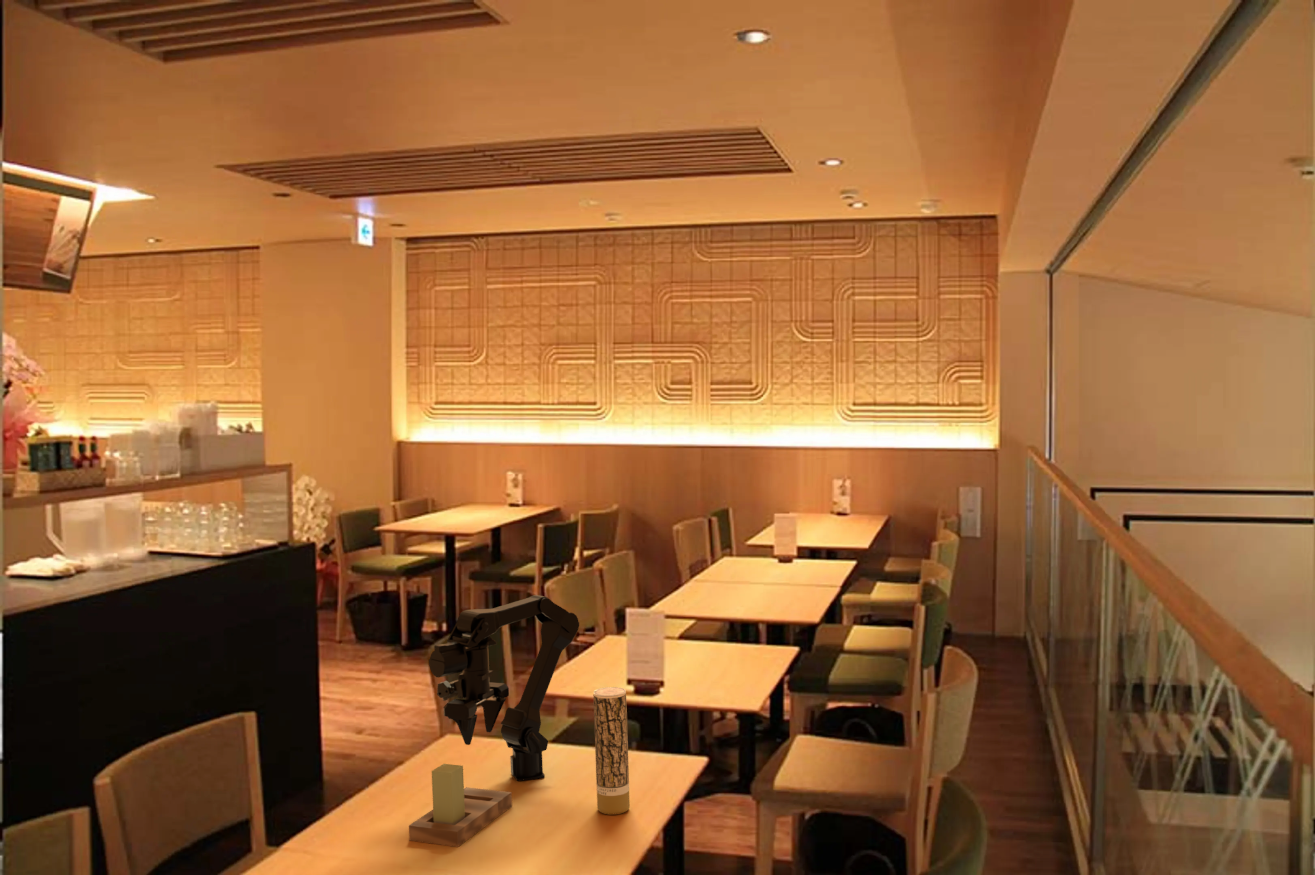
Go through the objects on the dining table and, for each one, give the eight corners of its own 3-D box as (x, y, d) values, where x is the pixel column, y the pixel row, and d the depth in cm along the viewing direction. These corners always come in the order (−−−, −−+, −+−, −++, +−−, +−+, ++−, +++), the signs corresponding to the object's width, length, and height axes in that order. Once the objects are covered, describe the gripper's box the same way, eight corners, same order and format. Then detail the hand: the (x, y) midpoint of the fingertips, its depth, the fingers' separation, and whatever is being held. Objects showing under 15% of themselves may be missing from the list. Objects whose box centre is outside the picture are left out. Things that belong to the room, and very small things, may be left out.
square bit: (446, 826, 226) (443, 763, 226) (465, 829, 225) (462, 765, 224) (434, 835, 222) (431, 771, 222) (453, 837, 221) (451, 773, 220)
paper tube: (625, 816, 229) (621, 696, 228) (593, 815, 230) (589, 695, 229) (633, 804, 235) (629, 687, 234) (601, 803, 237) (598, 686, 236)
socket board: (466, 801, 240) (466, 787, 240) (512, 806, 237) (511, 792, 236) (409, 840, 220) (408, 825, 220) (457, 847, 216) (457, 831, 216)
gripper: (465, 656, 256) (468, 723, 257) (420, 676, 239) (423, 748, 239) (508, 659, 252) (511, 727, 253) (466, 679, 235) (469, 752, 235)
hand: (478, 738), depth 245 cm, fingers open, 9 cm apart
